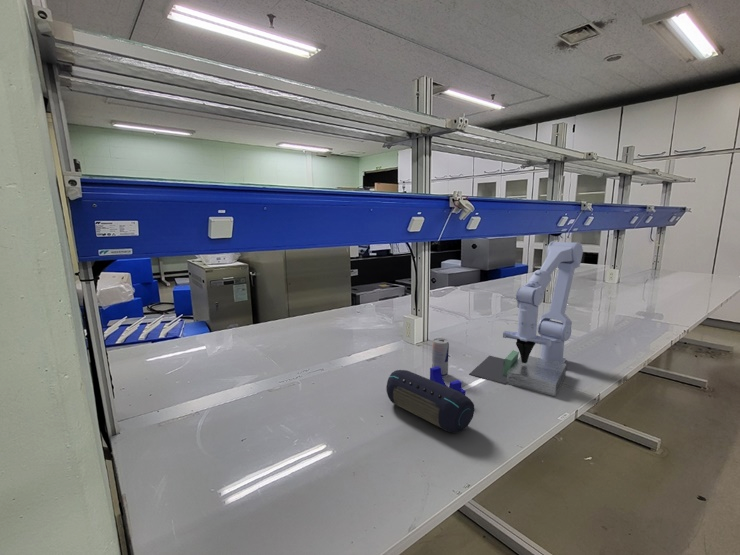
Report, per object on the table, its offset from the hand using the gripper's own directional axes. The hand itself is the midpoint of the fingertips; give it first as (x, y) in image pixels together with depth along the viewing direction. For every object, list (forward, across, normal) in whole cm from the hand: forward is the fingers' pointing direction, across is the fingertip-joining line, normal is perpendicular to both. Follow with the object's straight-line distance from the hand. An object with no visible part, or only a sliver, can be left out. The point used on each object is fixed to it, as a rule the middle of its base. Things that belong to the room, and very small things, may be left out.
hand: (524, 362), depth 117 cm
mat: (+5, -9, 0) cm, 10 cm away
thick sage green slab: (+2, -3, 0) cm, 4 cm away
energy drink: (+5, -23, -16) cm, 28 cm away
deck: (+5, +4, 0) cm, 6 cm away
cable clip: (+5, -16, -26) cm, 31 cm away
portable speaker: (+5, -15, -41) cm, 44 cm away
